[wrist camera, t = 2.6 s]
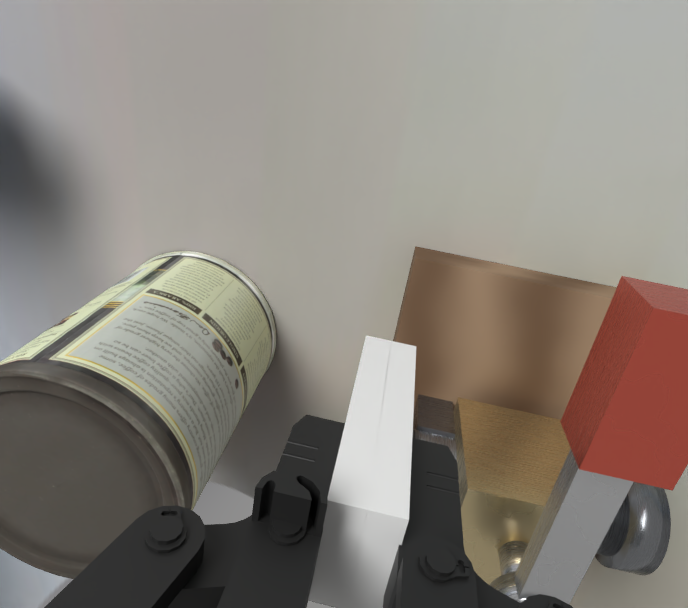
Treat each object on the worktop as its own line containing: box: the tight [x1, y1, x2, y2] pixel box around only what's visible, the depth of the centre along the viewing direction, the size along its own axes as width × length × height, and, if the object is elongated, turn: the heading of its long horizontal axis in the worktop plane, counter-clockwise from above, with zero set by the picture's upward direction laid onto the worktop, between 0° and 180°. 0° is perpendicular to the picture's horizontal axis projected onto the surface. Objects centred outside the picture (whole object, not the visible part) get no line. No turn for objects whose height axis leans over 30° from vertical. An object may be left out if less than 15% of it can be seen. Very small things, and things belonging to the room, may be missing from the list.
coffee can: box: [0, 251, 276, 579], centre depth 26 cm, size 10×10×14 cm
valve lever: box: [490, 276, 688, 604], centre depth 18 cm, size 16×3×2 cm, turn 170°
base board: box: [393, 247, 617, 420], centre depth 31 cm, size 14×20×2 cm
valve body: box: [412, 394, 671, 585], centre depth 26 cm, size 14×6×10 cm, turn 80°
